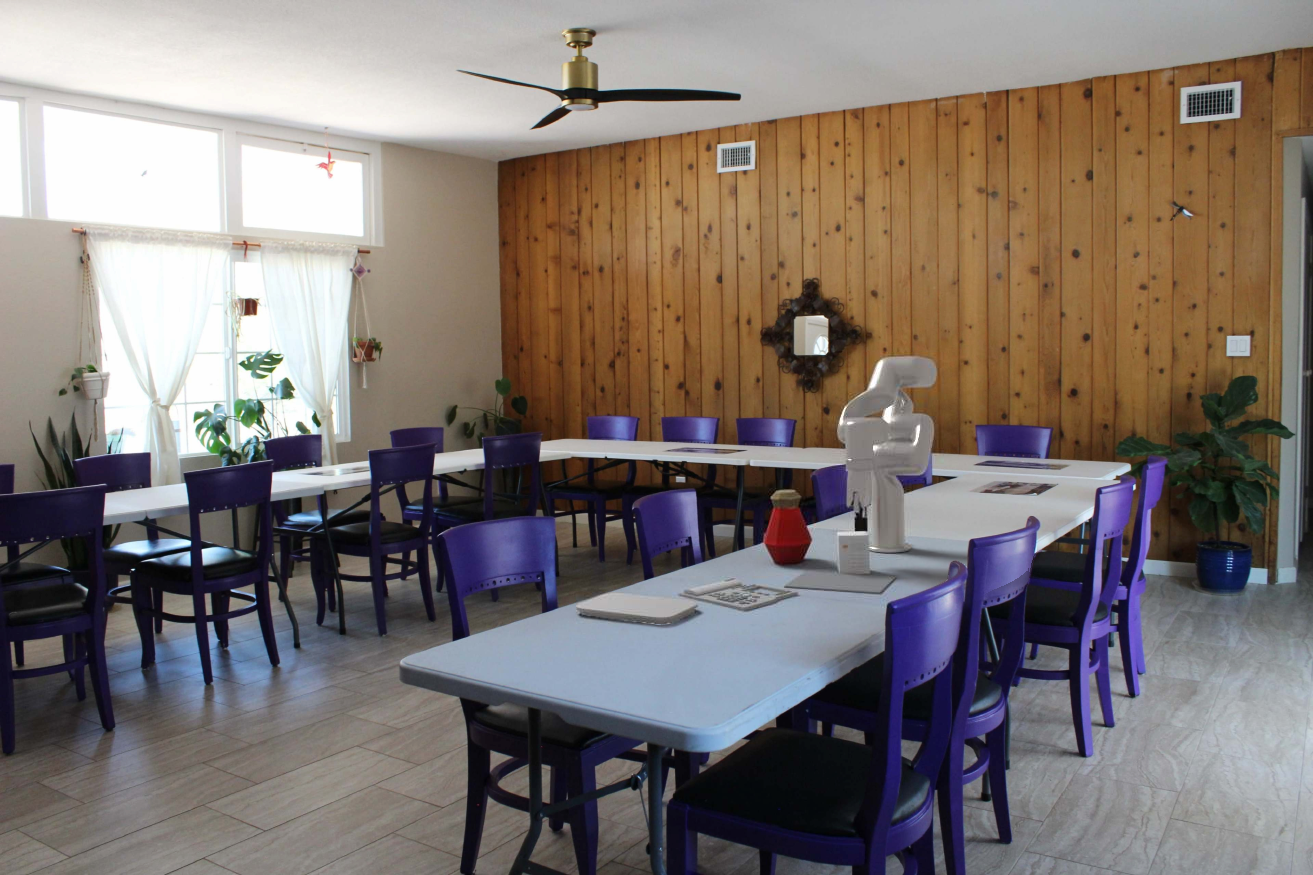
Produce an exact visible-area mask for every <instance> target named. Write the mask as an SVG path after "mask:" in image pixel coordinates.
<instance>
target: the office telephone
mask: <svg viewBox="0 0 1313 875" xmlns="http://www.w3.org/2000/svg"><path fill="white" fill-rule="evenodd" d="M758 589H760V590H761V589H762V590H767V591H771V592H776V593H775V594H771V593H766V592H765V593H763V592H761V591H760V592H759V591H758V592H757V591H755V590H758ZM798 594H799V593H798V591H797V590H793V589H789V588H782V587H778V586H772V585H766V584H761V583H753V584H749V585H747V584H746V583H742V582H741V581H740V580H738V579H736V578H730V579H725V580H722V581H719V582H718V581H717V582H713V583H710V584H705V585H701V586H697V587H693V588H688V589H685V590H684V591H683V592H678V593H677V595H678V597H679V596H680V597H683V598H688V599H690V600H694V601H695V600H696V601H700V602H705V603H708V604H714V605H717V606H721V607H727V608H730V609H734V610H738V611H742V612H747V611H751V610H753V609H757V608H758V609H759V608H761V607H765V606H768V605H771V604H774V603H776V601H777V602H778V601H780V600H784V599H787V598H791V597H794V596H798Z"/></svg>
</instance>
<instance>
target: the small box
mask: <svg viewBox="0 0 1313 875" xmlns="http://www.w3.org/2000/svg"><path fill="white" fill-rule="evenodd" d="M869 538H870V537H869V534H868V531H867V532H866V531H858V532H855V531H837V532H836V553H837V571H838V573H847V574H863V575H871V570H870V569H871V568H870V566H871V565H870V564H871V563H870V550H869V543H870V539H869Z"/></svg>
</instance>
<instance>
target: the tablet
mask: <svg viewBox="0 0 1313 875" xmlns="http://www.w3.org/2000/svg"><path fill="white" fill-rule="evenodd" d="M698 607H699V602H697V601H695V600H691V599H688V600H687V599H680V598H678V599H677V598H669V597H661V596H651V595H641V594H633V593H623V592H611V593H610V592H609V593H604V594H601V595H599V596H596V597H593V598H591V599H588V600H585V601H583V602H580V603H577V604H576V606H575V608H576V610H577V611H578V614H579V613H580V614H583V615H589V616H588V617H590V616H596V617H595V618H598V617H601V618H600V619H606V618H609V619H608V620H614V619H619V620H618V621H622V620H627V621H626V622H630V621H636V622H635V623H638V622H646V623H654V624H667V623H672V622H674V621H676V620H678V619H680V620H682V619H683V617H684V618H686V617H688V616H690V615H692V614H694V613H695V612H696V609H697V608H698ZM580 614H579V615H580ZM685 616H686V617H685ZM681 618H682V619H681ZM678 621H679V620H678ZM676 622H677V621H676ZM646 623H645V624H646ZM674 623H675V622H674ZM654 624H653V625H654ZM672 624H673V623H672Z"/></svg>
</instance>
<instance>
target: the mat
mask: <svg viewBox="0 0 1313 875" xmlns="http://www.w3.org/2000/svg"><path fill="white" fill-rule="evenodd" d="M896 578H897V576H894V575H880V574H879V575H877V574H847V573H839V572H827V571H811V570H810V571H808V570H805V571H803V572H802V573H800V574H799V575H797V576H796V577H794V579H792V580H791V581H789V582H788V583H786V584H785V585H784V586H783V587H784V589H802V590H804V589H805V590H814V591H815V590H818V591H831V592H832V591H833V592H845V593H846V592H847V593H861V594H873V595H875V594H876V595H877V594H878V595H880V594H882V592H884V590H885V589H886V588H888V586H890V585H891V583H892V582H894V581H895V580H896Z"/></svg>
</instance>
